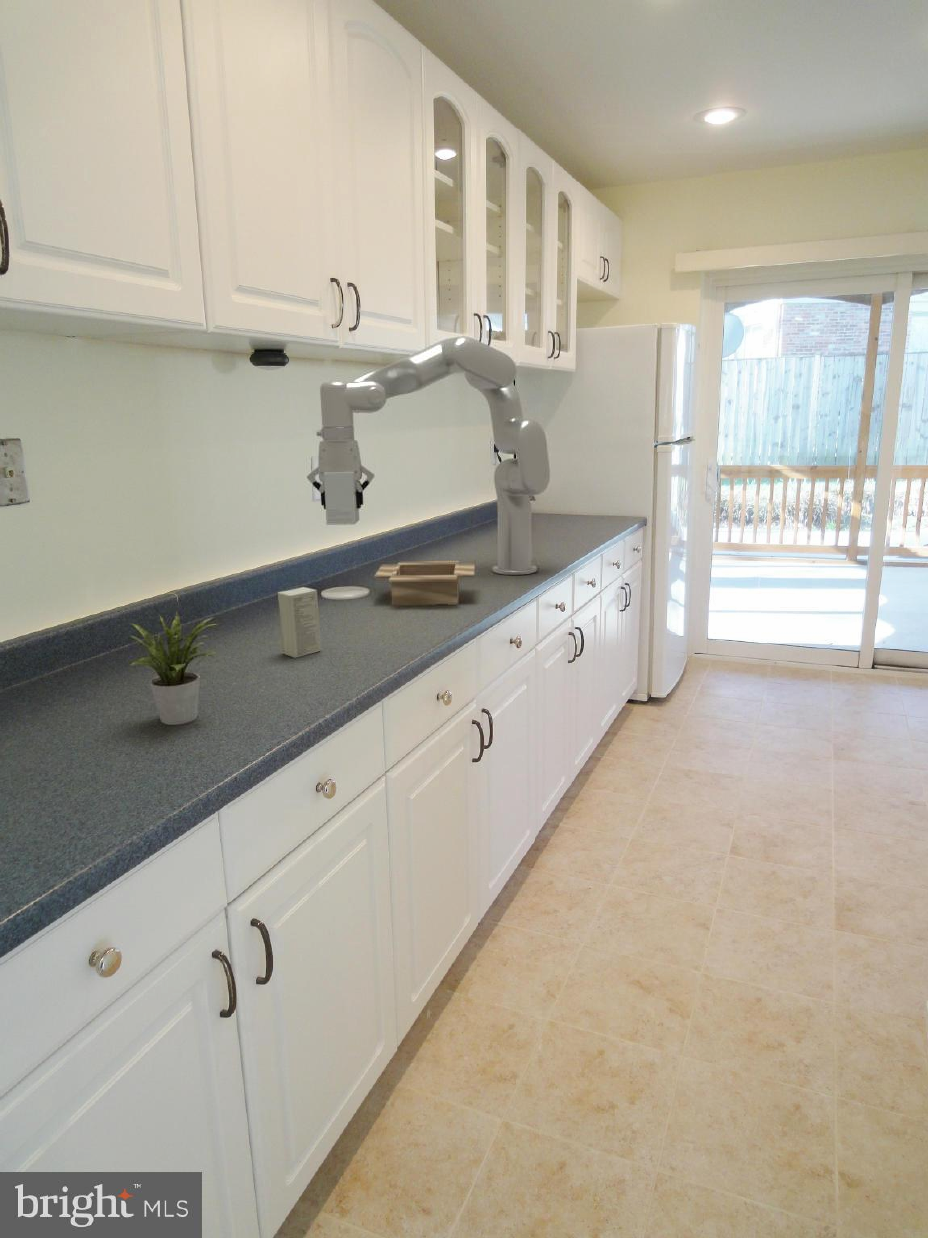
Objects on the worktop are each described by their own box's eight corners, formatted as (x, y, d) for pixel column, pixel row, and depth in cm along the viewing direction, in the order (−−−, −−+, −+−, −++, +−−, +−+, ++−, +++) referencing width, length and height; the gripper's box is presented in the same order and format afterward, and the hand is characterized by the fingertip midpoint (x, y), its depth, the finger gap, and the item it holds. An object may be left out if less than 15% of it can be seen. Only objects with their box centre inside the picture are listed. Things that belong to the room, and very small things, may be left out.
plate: (326, 589, 211) (326, 586, 211) (372, 589, 211) (371, 586, 211) (317, 599, 200) (317, 596, 199) (365, 599, 199) (365, 596, 199)
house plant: (246, 724, 119) (236, 616, 115) (147, 746, 112) (133, 631, 108) (217, 697, 131) (207, 599, 127) (126, 715, 123) (113, 611, 119)
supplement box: (356, 524, 197) (353, 471, 194) (325, 525, 197) (322, 472, 194) (360, 520, 204) (357, 469, 201) (331, 521, 204) (328, 470, 201)
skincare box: (308, 647, 159) (304, 586, 156) (322, 651, 155) (318, 589, 152) (281, 654, 154) (276, 591, 151) (294, 658, 151) (289, 595, 148)
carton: (384, 588, 212) (383, 561, 210) (475, 587, 211) (474, 560, 209) (373, 609, 189) (371, 579, 187) (474, 608, 188) (474, 578, 187)
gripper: (299, 435, 192) (304, 510, 196) (372, 434, 192) (376, 509, 196) (305, 435, 199) (310, 507, 204) (376, 433, 199) (379, 506, 203)
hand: (342, 507), depth 200 cm, fingers closed on supplement box, 7 cm apart
